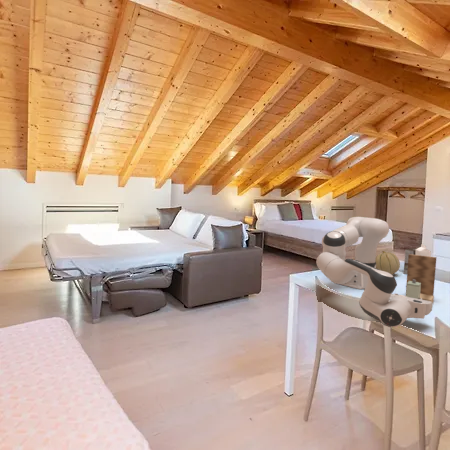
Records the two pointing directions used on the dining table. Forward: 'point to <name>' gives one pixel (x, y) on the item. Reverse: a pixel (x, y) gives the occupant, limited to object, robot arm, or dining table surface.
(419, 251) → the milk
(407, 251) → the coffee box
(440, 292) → the dining table surface
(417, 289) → the olive rectangular canister
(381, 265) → the cantaloupe
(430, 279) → the brown tall block
